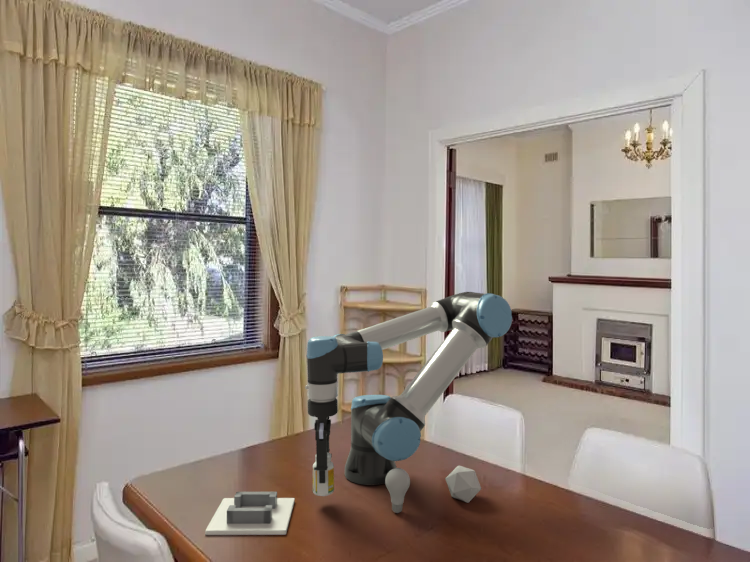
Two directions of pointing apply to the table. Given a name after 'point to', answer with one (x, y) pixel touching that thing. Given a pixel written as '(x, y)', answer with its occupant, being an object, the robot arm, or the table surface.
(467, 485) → the die
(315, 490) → the supplement bottle
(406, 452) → the robot arm
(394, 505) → the lightbulb
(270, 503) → the socket
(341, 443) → the table surface
